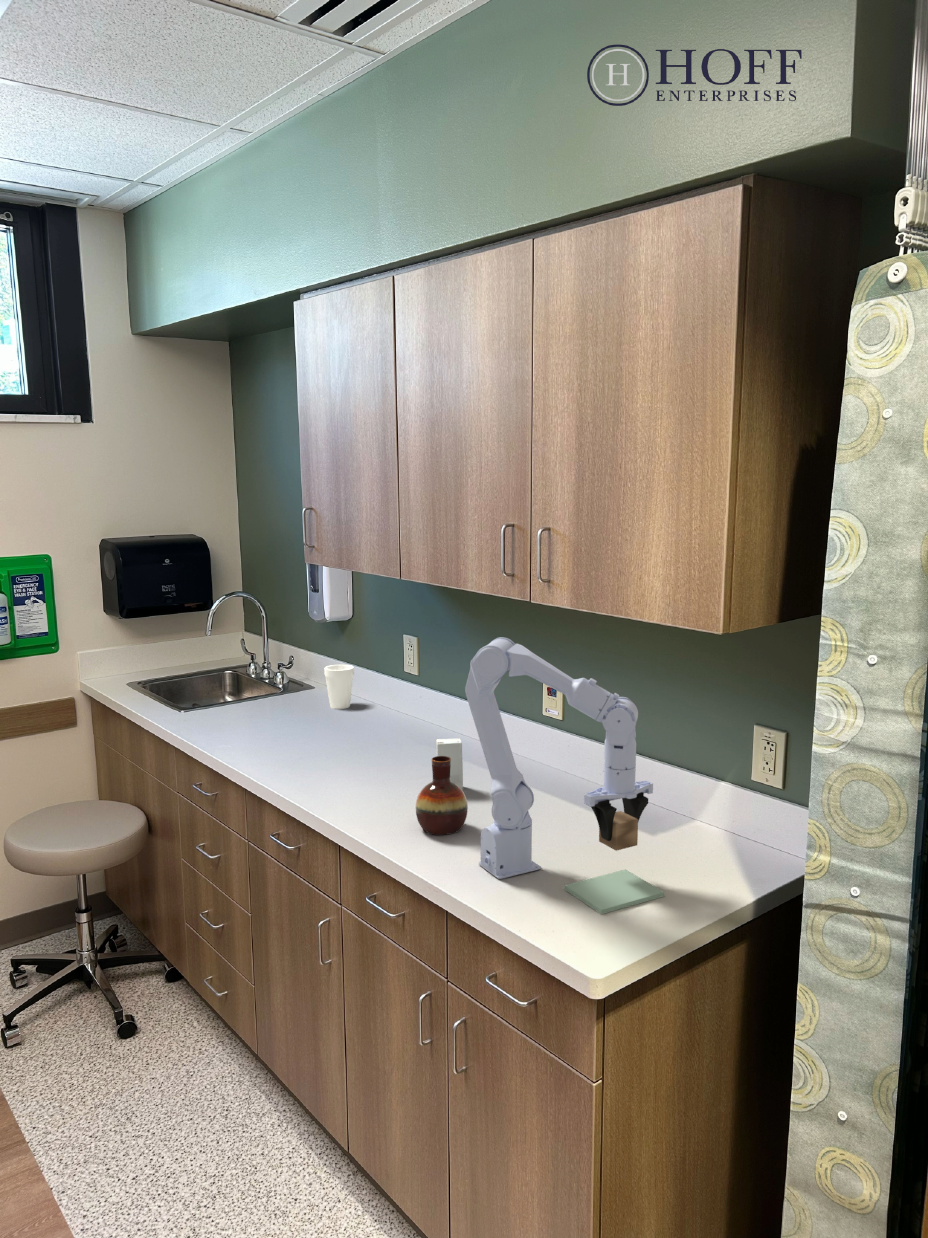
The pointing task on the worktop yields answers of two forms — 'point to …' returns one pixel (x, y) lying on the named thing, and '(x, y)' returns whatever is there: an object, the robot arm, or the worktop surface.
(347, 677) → the foam cup
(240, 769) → the worktop surface
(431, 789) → the vase
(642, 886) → the sage board
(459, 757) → the skincare box
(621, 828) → the walnut block
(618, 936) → the worktop surface
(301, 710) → the worktop surface
